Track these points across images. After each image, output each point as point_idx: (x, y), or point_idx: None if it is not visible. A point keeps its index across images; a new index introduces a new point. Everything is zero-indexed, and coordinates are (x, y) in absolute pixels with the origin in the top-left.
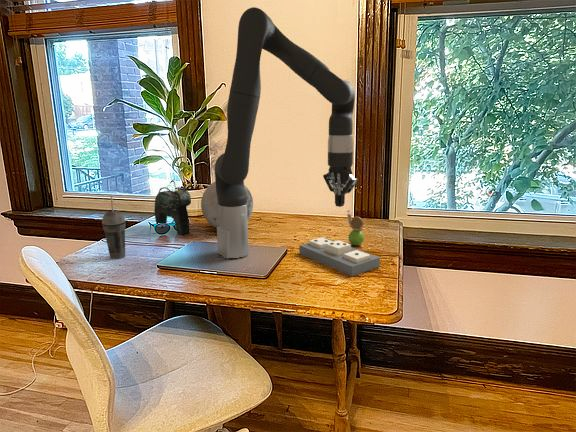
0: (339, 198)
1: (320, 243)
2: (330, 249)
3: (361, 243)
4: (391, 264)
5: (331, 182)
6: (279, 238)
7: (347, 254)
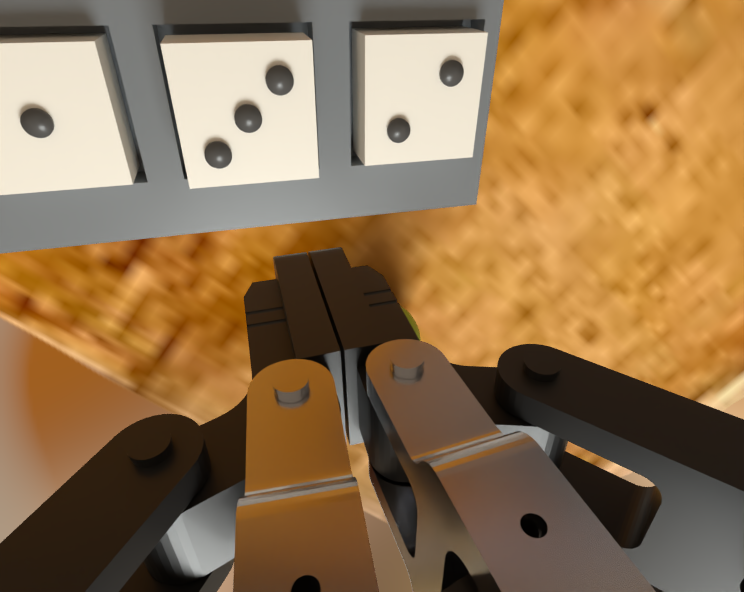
0: (290, 333)
1: (389, 59)
2: (251, 36)
3: None
4: (25, 298)
5: (668, 518)
6: (730, 45)
7: (67, 58)
